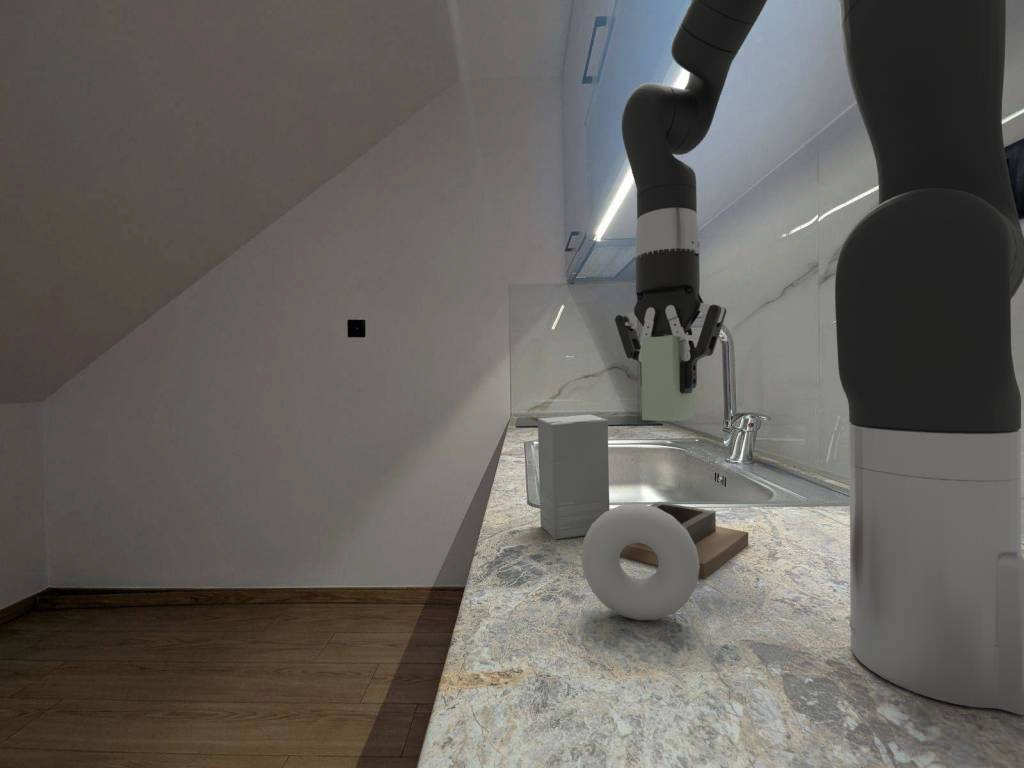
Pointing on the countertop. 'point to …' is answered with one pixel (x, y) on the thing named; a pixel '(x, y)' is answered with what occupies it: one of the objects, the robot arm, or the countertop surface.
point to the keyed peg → (663, 381)
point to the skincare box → (572, 473)
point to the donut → (633, 594)
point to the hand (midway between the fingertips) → (668, 392)
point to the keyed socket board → (696, 539)
